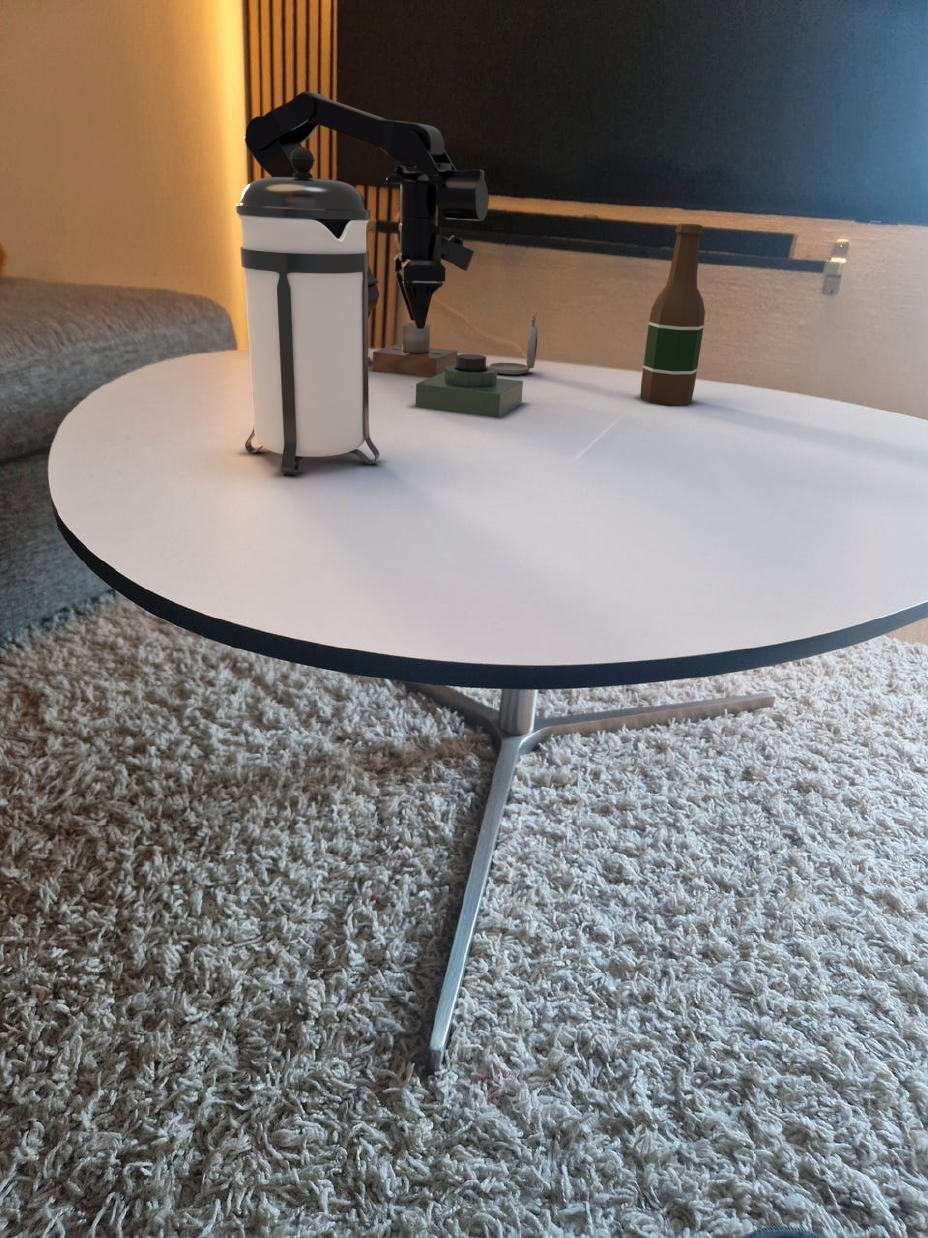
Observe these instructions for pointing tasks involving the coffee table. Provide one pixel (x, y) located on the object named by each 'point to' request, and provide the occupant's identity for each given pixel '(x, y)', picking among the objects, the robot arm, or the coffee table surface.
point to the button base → (469, 392)
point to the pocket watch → (531, 355)
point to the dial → (415, 338)
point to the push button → (471, 363)
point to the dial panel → (413, 361)
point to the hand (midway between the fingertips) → (417, 324)
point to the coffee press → (307, 314)
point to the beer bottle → (675, 327)
